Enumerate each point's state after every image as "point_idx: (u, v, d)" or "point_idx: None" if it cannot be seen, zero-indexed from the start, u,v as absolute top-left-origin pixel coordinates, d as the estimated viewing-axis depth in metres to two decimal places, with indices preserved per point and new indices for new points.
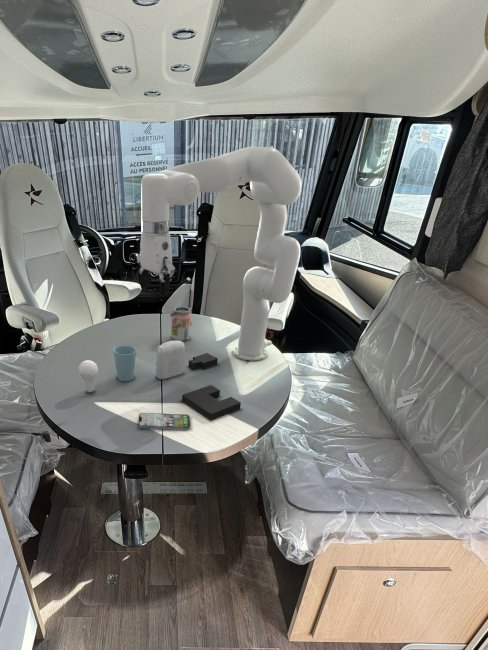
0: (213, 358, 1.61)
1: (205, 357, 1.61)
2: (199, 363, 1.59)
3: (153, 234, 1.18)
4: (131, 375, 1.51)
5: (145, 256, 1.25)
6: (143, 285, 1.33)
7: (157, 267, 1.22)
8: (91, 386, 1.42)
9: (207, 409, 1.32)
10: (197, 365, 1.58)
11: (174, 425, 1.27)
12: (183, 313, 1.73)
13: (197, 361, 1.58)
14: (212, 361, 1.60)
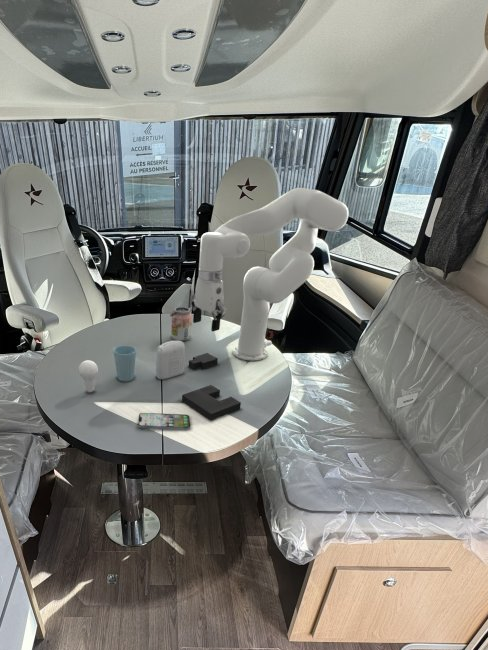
0: (213, 358, 1.61)
1: (205, 357, 1.61)
2: (199, 363, 1.59)
3: (209, 281, 1.41)
4: (131, 375, 1.51)
5: (200, 298, 1.47)
6: (195, 320, 1.55)
7: (211, 308, 1.45)
8: (91, 386, 1.42)
9: (207, 409, 1.32)
10: (197, 365, 1.58)
11: (174, 425, 1.27)
12: (183, 313, 1.73)
13: (197, 361, 1.58)
14: (212, 361, 1.60)
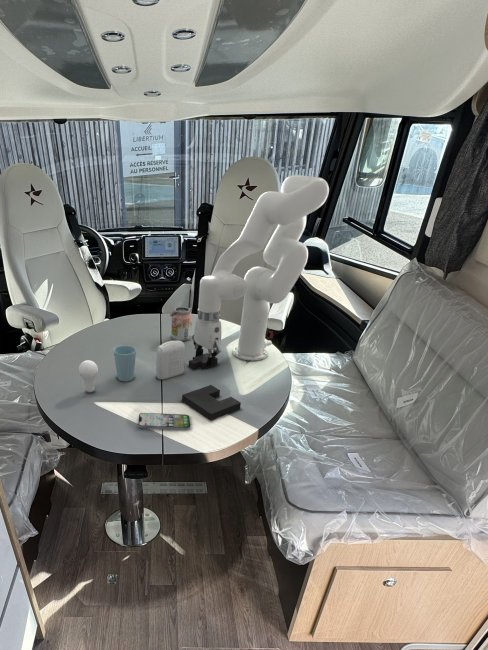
0: None
1: (205, 357, 1.61)
2: (199, 363, 1.59)
3: (208, 321, 1.49)
4: (131, 375, 1.51)
5: (199, 335, 1.56)
6: None
7: (209, 345, 1.53)
8: (91, 386, 1.42)
9: (207, 409, 1.32)
10: (197, 365, 1.58)
11: (174, 425, 1.27)
12: (183, 313, 1.73)
13: (197, 361, 1.58)
14: None
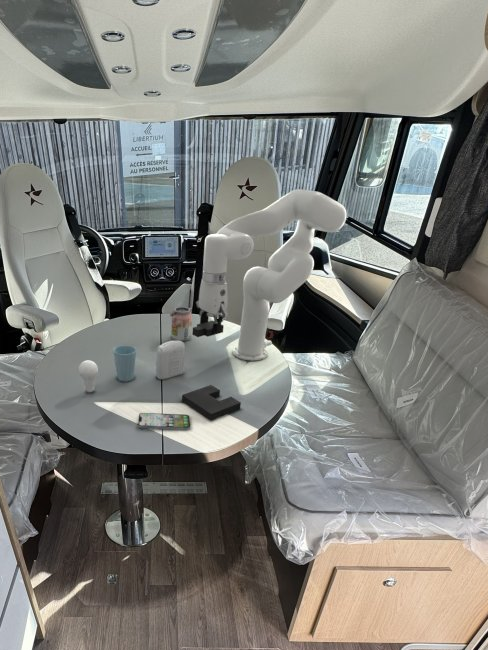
0: None
1: (210, 324, 1.52)
2: (204, 330, 1.50)
3: (213, 283, 1.40)
4: (131, 375, 1.51)
5: (204, 300, 1.47)
6: None
7: (215, 310, 1.44)
8: (91, 386, 1.42)
9: (207, 409, 1.32)
10: (201, 332, 1.50)
11: (174, 425, 1.27)
12: (183, 313, 1.73)
13: (201, 328, 1.50)
14: None
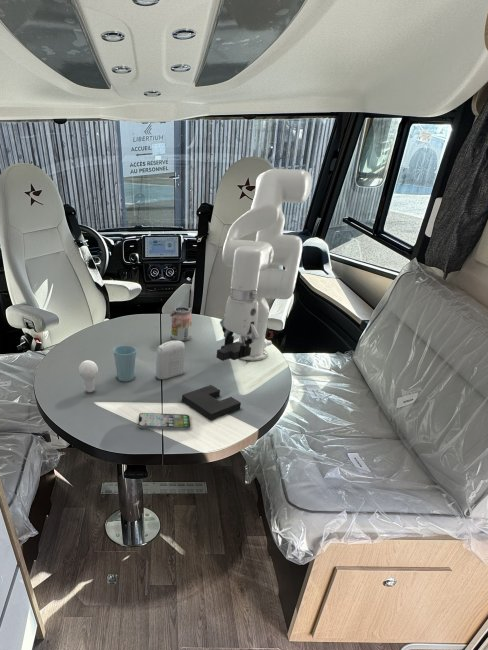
0: None
1: (236, 346, 1.35)
2: (229, 353, 1.33)
3: (242, 301, 1.23)
4: (131, 375, 1.51)
5: (230, 319, 1.30)
6: None
7: (243, 331, 1.27)
8: (91, 386, 1.42)
9: (207, 409, 1.32)
10: (227, 355, 1.33)
11: (174, 425, 1.27)
12: (183, 313, 1.73)
13: (227, 350, 1.33)
14: None
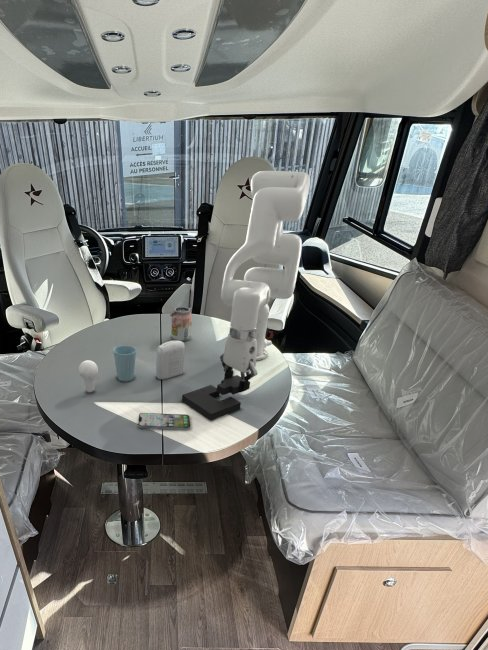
0: None
1: (235, 381, 1.39)
2: (229, 388, 1.37)
3: (242, 340, 1.28)
4: (131, 375, 1.51)
5: (230, 356, 1.34)
6: None
7: (243, 368, 1.32)
8: (91, 386, 1.42)
9: (207, 409, 1.32)
10: (227, 390, 1.37)
11: (174, 425, 1.27)
12: (183, 313, 1.73)
13: (227, 385, 1.37)
14: None
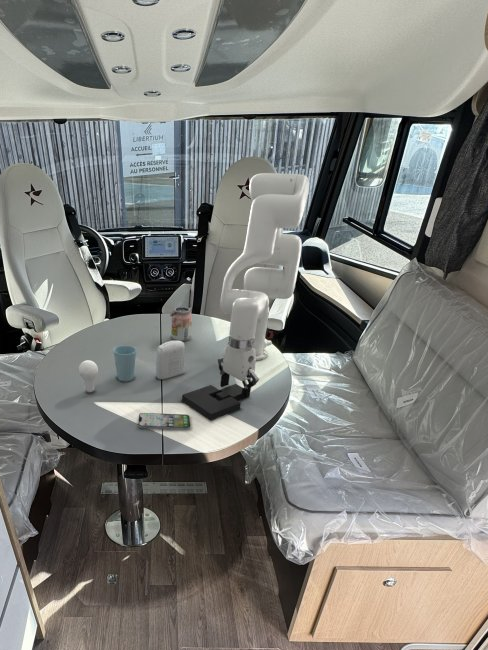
0: None
1: (234, 390, 1.41)
2: (228, 397, 1.39)
3: (241, 349, 1.29)
4: (131, 375, 1.51)
5: (229, 364, 1.36)
6: (223, 385, 1.44)
7: (242, 376, 1.34)
8: (91, 386, 1.42)
9: (207, 409, 1.32)
10: None
11: (174, 425, 1.27)
12: (183, 313, 1.73)
13: (226, 394, 1.39)
14: None
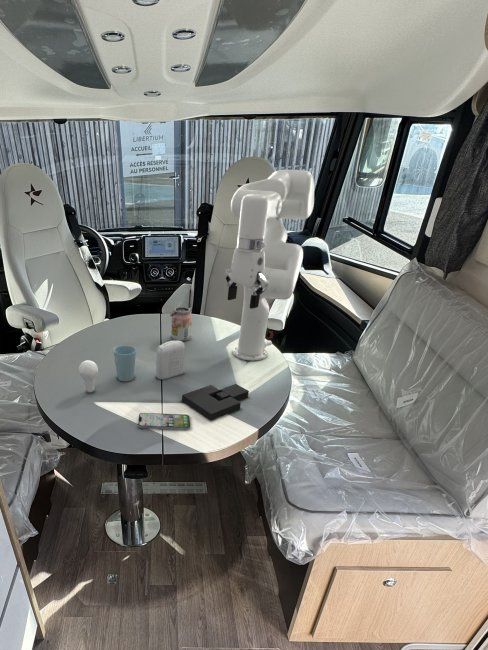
0: (243, 391, 1.41)
1: (234, 390, 1.41)
2: (228, 397, 1.39)
3: (250, 250, 1.24)
4: (131, 375, 1.51)
5: (237, 270, 1.31)
6: (230, 297, 1.39)
7: (250, 281, 1.29)
8: (91, 386, 1.42)
9: (207, 409, 1.32)
10: None
11: (174, 425, 1.27)
12: (183, 313, 1.73)
13: (226, 394, 1.39)
14: (243, 394, 1.40)
